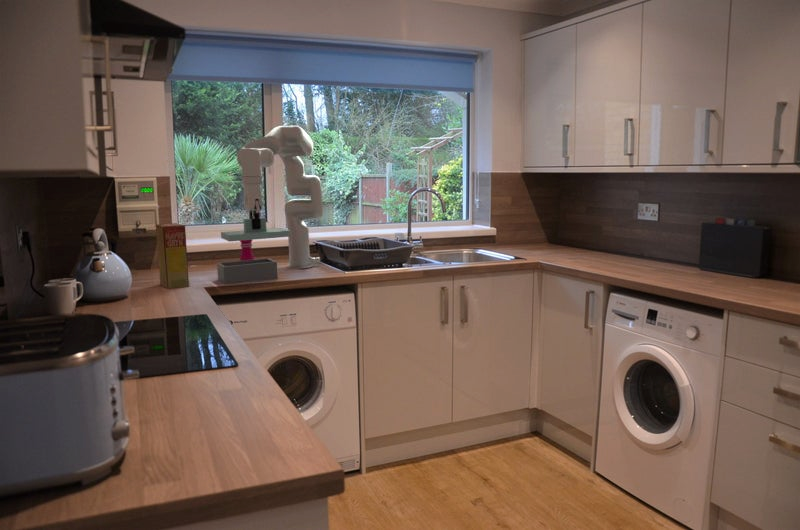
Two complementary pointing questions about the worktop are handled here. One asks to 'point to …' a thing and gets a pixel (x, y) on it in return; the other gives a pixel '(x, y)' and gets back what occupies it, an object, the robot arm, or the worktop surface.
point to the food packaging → (172, 255)
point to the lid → (255, 232)
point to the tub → (247, 270)
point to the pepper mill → (246, 250)
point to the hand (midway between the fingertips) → (255, 228)
